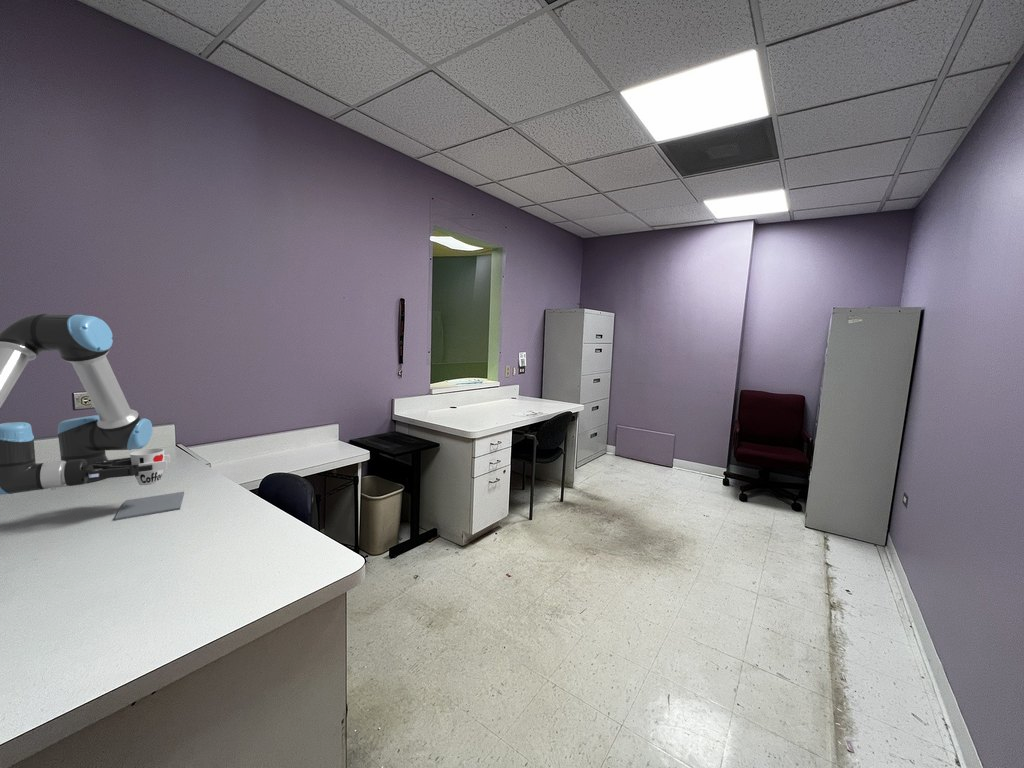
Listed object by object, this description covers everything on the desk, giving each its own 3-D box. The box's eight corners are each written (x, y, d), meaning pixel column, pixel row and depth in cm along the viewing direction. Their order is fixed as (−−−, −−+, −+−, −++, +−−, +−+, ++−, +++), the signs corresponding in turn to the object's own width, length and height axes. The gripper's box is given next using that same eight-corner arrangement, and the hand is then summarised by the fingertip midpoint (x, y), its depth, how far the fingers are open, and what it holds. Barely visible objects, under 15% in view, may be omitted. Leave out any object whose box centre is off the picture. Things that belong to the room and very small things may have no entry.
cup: (135, 488, 125) (133, 456, 124) (129, 483, 130) (127, 452, 129) (169, 482, 132) (167, 451, 131) (162, 476, 136) (160, 447, 135)
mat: (125, 502, 134) (125, 500, 134) (184, 493, 143) (184, 491, 143) (114, 520, 121) (114, 518, 121) (180, 509, 130) (179, 507, 130)
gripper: (78, 476, 129) (172, 465, 142) (56, 497, 112) (165, 482, 125) (76, 452, 128) (171, 443, 141) (53, 470, 111) (163, 458, 124)
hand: (168, 461), depth 133 cm, fingers closed on cup, 8 cm apart
